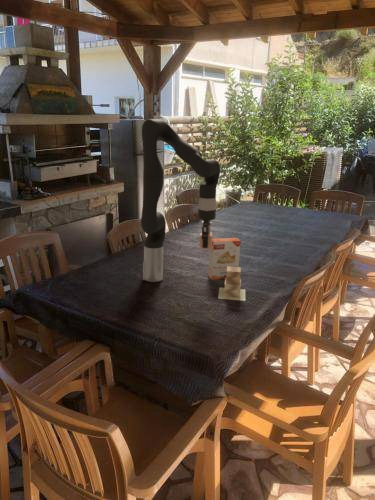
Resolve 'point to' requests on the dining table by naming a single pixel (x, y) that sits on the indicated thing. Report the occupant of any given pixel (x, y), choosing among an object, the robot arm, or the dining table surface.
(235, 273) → the oak top block
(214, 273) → the cracker box
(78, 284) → the dining table surface
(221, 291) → the beige flat square slab
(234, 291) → the birch base block
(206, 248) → the terracotta block
